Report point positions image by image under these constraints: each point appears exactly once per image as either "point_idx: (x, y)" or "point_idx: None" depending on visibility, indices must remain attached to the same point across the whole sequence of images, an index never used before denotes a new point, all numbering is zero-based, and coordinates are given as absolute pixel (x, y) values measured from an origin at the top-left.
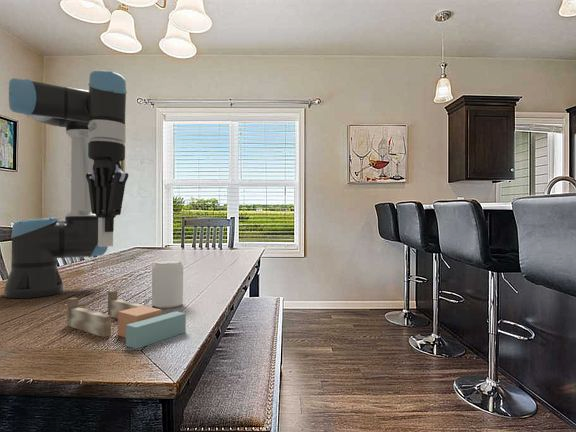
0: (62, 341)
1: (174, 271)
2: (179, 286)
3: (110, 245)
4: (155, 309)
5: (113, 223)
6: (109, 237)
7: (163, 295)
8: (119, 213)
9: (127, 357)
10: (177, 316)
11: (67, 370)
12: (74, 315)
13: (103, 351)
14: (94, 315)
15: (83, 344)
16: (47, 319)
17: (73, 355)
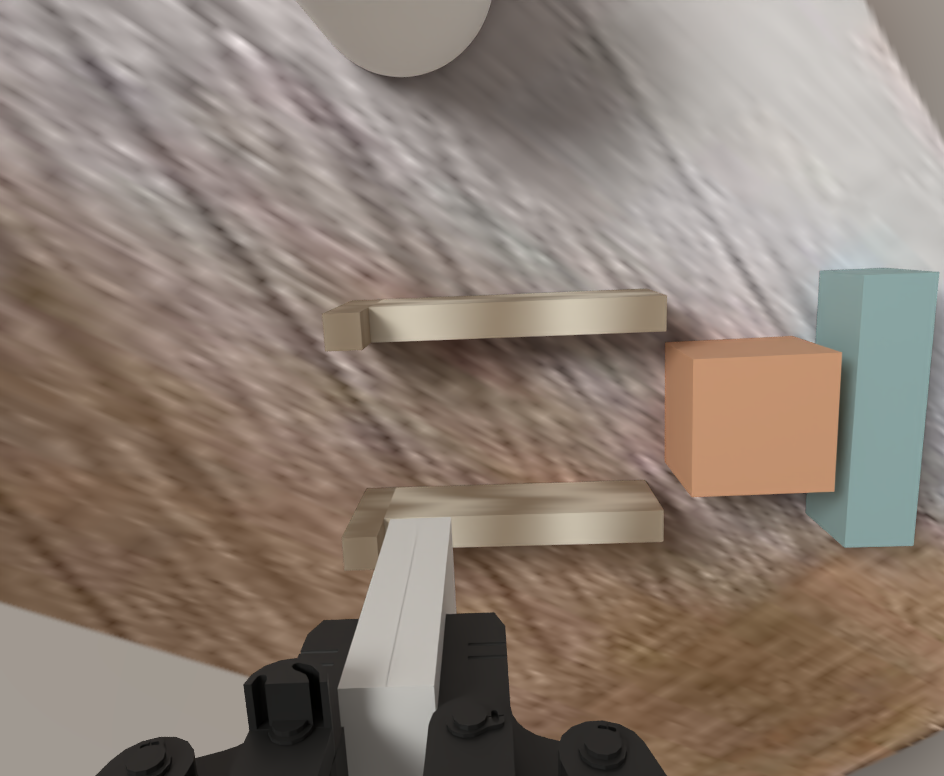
0: (560, 614)
1: None
2: None
3: (451, 542)
4: (814, 368)
5: (507, 673)
6: (450, 591)
7: (454, 37)
8: (638, 751)
9: (906, 569)
10: (930, 325)
11: (834, 717)
12: None
13: (783, 584)
14: (586, 542)
15: (655, 588)
16: (202, 521)
17: (731, 655)
